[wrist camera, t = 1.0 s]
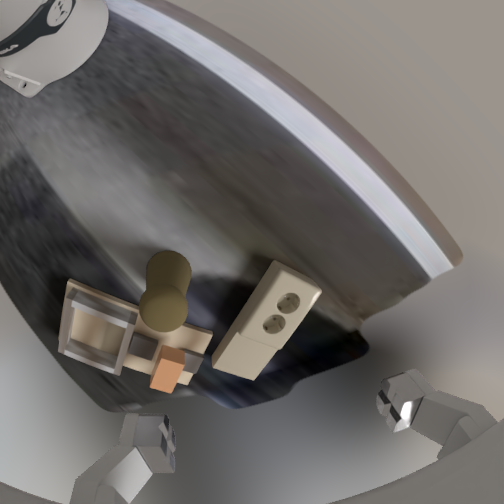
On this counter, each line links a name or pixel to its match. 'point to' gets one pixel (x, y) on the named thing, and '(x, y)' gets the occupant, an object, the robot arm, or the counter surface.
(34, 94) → the robot arm
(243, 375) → the electrical outlet
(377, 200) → the counter surface
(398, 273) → the counter surface
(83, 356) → the rail panel
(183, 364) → the block
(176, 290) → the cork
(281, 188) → the counter surface
